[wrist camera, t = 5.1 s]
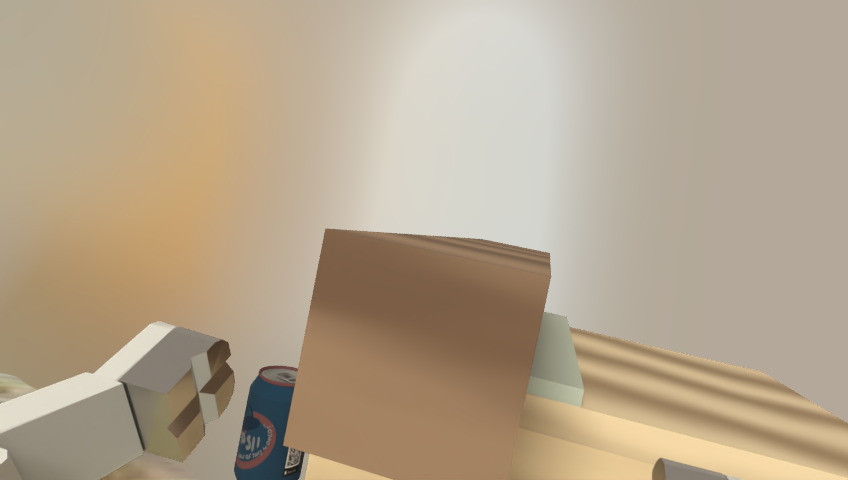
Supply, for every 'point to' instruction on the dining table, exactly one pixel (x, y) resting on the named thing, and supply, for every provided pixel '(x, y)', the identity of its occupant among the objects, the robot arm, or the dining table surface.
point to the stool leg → (418, 354)
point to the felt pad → (556, 363)
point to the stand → (663, 422)
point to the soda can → (268, 429)
